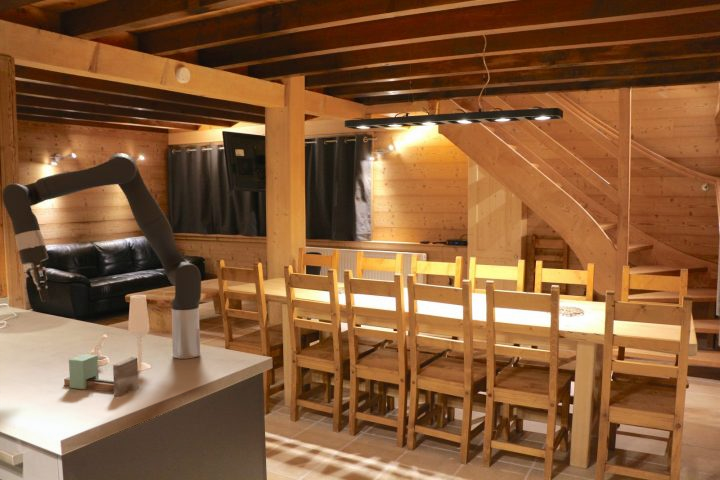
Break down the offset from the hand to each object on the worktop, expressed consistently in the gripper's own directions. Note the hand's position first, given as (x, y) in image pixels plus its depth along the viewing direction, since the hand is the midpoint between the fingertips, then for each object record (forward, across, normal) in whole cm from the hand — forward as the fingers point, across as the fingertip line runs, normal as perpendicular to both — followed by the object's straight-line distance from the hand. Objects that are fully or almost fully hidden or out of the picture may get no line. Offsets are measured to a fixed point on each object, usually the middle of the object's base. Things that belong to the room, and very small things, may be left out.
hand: (46, 300), depth 182 cm
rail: (+29, +14, +6) cm, 33 cm away
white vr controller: (+25, -12, +11) cm, 30 cm away
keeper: (+28, +10, +3) cm, 30 cm away
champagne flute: (+29, +1, +22) cm, 36 cm away
